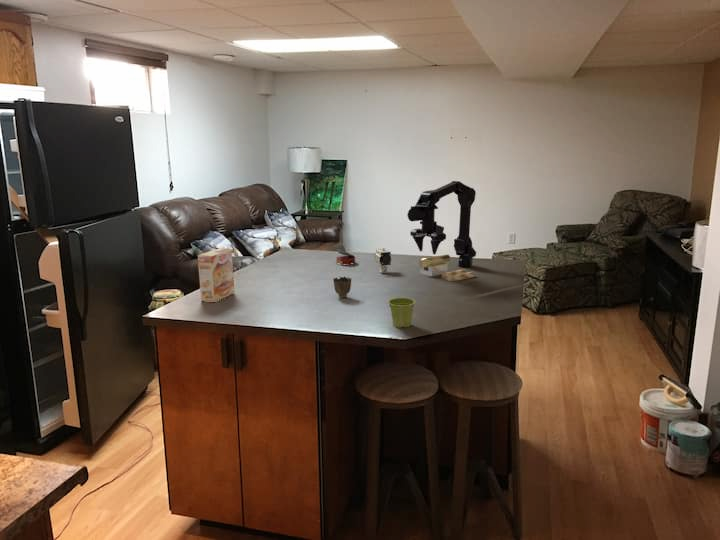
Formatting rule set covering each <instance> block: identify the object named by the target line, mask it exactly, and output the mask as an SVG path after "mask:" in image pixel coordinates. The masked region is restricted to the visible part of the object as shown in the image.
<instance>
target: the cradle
mask: <svg viewBox="0 0 720 540" xmlns="http://www.w3.org/2000/svg"><path fill="white" fill-rule="evenodd" d="M419 266H420V265H419ZM448 267H449V266H448V263H441V264H436V265H430V266H428V267H423V268H422V267H421V266H420V268H419V269H420V271H419V273H420V274H421V275H425V276H429V277H435V276H440V275H441V276H442V273H447V272H449V269H448Z"/></svg>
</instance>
